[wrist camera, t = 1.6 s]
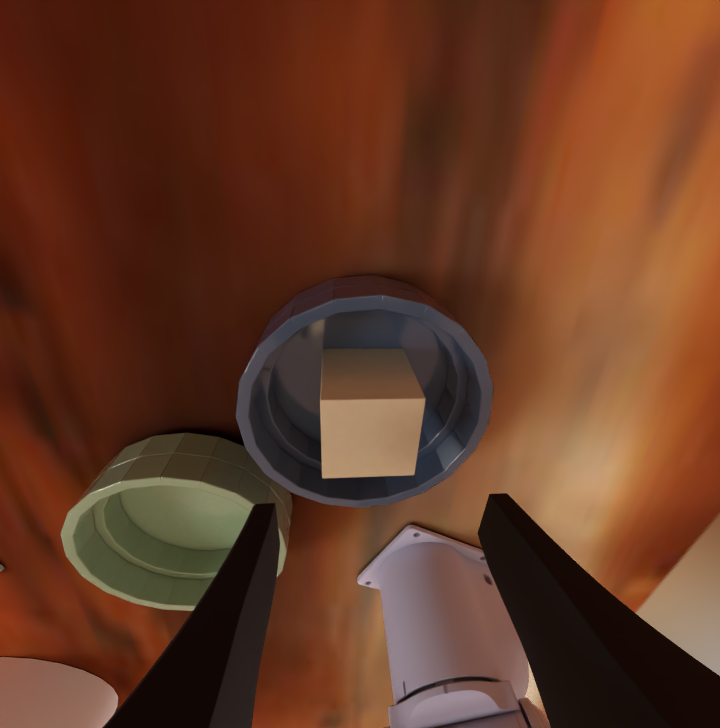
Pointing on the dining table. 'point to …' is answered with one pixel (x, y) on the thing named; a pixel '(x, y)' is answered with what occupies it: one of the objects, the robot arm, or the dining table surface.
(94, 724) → the cylinder
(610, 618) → the robot arm
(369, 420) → the block
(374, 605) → the dining table surface
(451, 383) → the slate bowl
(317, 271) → the dining table surface
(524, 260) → the dining table surface
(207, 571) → the sage bowl
